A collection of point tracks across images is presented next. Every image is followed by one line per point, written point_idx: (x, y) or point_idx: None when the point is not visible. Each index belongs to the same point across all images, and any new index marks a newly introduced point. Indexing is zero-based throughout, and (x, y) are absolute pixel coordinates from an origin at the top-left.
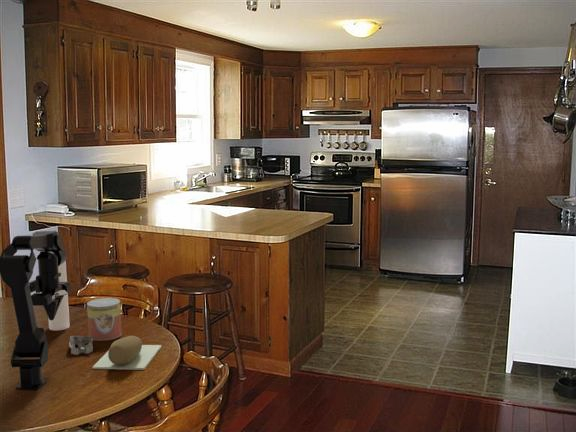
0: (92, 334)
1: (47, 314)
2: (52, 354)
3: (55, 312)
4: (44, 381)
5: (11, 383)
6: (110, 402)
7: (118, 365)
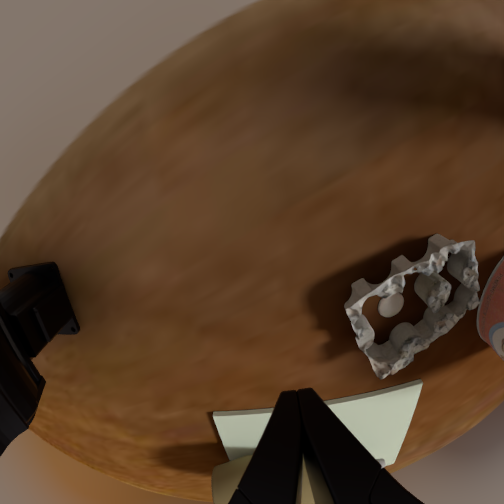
0: (501, 287)
1: (258, 446)
2: (340, 200)
3: (312, 490)
4: (64, 333)
5: (30, 225)
6: (83, 459)
7: (242, 456)
